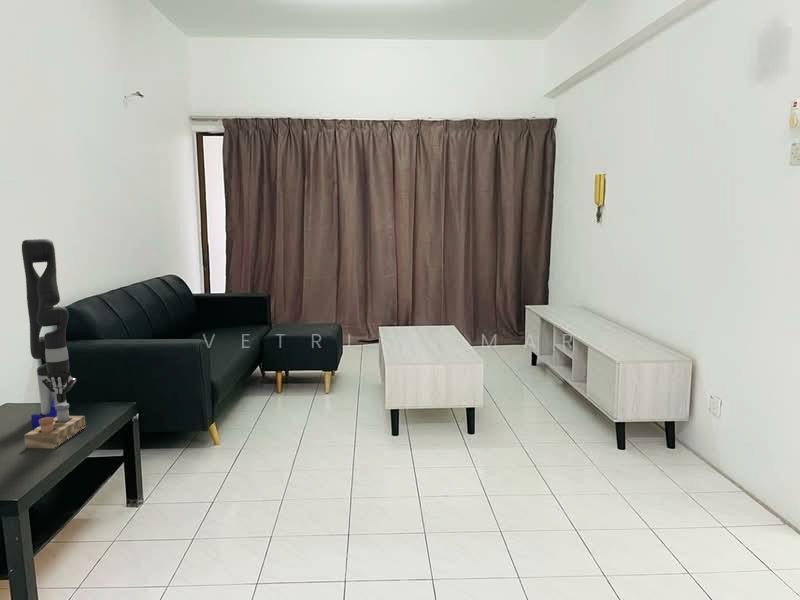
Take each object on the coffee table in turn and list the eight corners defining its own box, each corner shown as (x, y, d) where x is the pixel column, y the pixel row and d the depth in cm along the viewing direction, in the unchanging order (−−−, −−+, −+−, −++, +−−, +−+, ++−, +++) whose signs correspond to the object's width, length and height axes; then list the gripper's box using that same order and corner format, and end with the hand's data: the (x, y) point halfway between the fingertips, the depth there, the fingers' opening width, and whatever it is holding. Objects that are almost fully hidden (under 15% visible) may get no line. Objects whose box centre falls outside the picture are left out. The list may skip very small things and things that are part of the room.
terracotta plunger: (46, 436, 225) (44, 416, 224) (58, 436, 225) (56, 416, 223) (37, 441, 220) (35, 421, 219) (50, 441, 220) (48, 421, 219)
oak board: (58, 427, 238) (57, 415, 237) (85, 428, 237) (84, 416, 236) (25, 448, 218) (24, 435, 217) (54, 448, 217) (53, 435, 217)
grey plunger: (61, 421, 234) (59, 403, 233) (73, 421, 234) (71, 403, 233) (54, 426, 230) (52, 407, 228) (66, 426, 229) (64, 407, 228)
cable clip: (51, 419, 248) (49, 405, 247) (60, 419, 247) (59, 405, 246) (29, 429, 236) (27, 415, 235) (39, 430, 236) (37, 415, 235)
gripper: (79, 356, 231) (83, 399, 234) (46, 356, 232) (51, 399, 234) (68, 361, 224) (72, 405, 226) (34, 361, 224) (38, 405, 227)
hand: (61, 402), depth 230 cm, fingers closed
